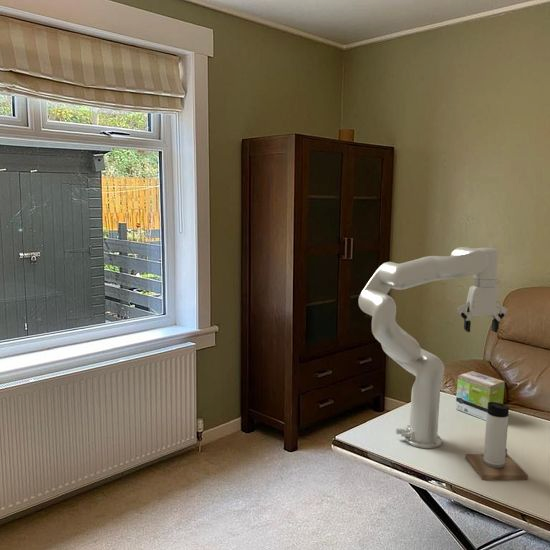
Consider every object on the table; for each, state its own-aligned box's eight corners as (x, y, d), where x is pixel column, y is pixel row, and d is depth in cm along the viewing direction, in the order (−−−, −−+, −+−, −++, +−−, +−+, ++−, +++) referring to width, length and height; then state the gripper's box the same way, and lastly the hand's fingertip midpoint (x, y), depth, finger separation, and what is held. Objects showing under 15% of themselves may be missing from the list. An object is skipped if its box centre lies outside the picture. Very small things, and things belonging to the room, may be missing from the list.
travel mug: (478, 461, 178) (482, 401, 175) (493, 457, 181) (498, 398, 178) (492, 470, 173) (497, 408, 170) (508, 466, 175) (513, 405, 172)
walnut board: (482, 479, 170) (483, 467, 169) (464, 458, 183) (465, 446, 183) (527, 479, 170) (528, 467, 170) (506, 458, 184) (507, 446, 183)
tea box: (454, 409, 225) (456, 374, 223) (469, 404, 231) (471, 370, 229) (488, 422, 213) (491, 385, 211) (502, 416, 219) (505, 380, 217)
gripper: (503, 281, 198) (500, 328, 200) (455, 281, 197) (452, 328, 199) (513, 285, 190) (509, 334, 193) (463, 284, 189) (460, 333, 192)
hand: (480, 331), depth 196 cm, fingers open, 9 cm apart
